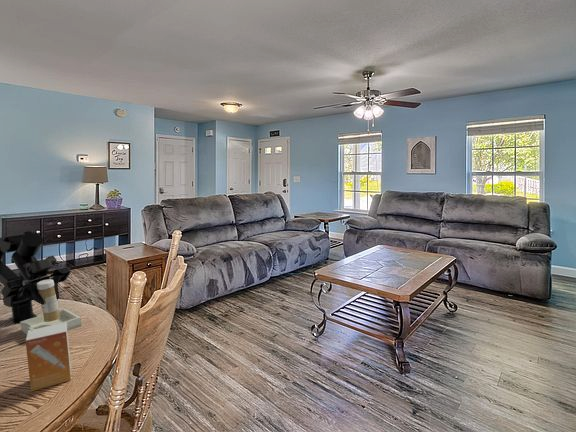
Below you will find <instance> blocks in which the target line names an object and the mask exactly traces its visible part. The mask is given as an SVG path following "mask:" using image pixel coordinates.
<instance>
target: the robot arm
mask: <svg viewBox="0 0 576 432" xmlns="http://www.w3.org/2000/svg"><path fill="white" fill-rule="evenodd" d="M43 243H44V238H43V237H42V235H39V234H37V233H33V232H32V230H28V231H27V230H26V231H23V232H22V233H19V234H10V235H4V236H3V235H2V236H1V237H0V283H1V284H2V285H3V288H2V290H1V294H2V296H3V297H2V302H3V306H5V307H9V308H10V309H11V314H12V316H11V317H9V320H10V321H11V322H12V323H14V324H15V325H16V324H19V323H20V322H21V321H24V320H28V319H31V318H34V317H38V315H36V314H35V313H34V310H33V309H34V308H33V302H32V301H34V302H36V303H38V304H40V305H41V304H42V305H43V304H44V300H43V298H42V297H41V296H40V294H39V290H38V289H37V283H38V282H40V281H43V280H48V279H52V280H53V281H54V289H55V294H56V298H57V301H58V300H59V299H60V294H59V283H62V282H65V281H66V280H68V278H69V276H70V275H71V273H72V271H71V269H70V268H69V267H68V266H63V267H58V268H56V269H54V271H53V272H52V273H50V274H48V273H49V272H50V269H51V268H54V266H56V265H57V264H58V261H57V258H56V257H55V255H49V256H47V257H45V258H44V259H39V260H38V259H37V257H36V255H38V253H39V251H40V249H41V247H42V245H43ZM5 253H7V254H9V253H12V255H11V257H10V258H11V259H10V262H11V264H14V265H15V266H16V268H17V270H18V271H19V272H18V274H17V273H16V272H15V271H14V270H13V269H11V268H10V267H9V266H8V265H7V264H5V263H4V261H3V259H4V256H5Z"/></svg>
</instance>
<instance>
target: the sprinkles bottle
mask: <svg viewBox="0 0 576 432" xmlns="http://www.w3.org/2000/svg"><path fill="white" fill-rule="evenodd" d="M37 289H38V290H39V294H40V296H41V297H42V298H43V300H44V304H43V305H42V304H40V306H41V311H42V315H44V321H45V322H51V321H55V320H57V319H59V318H60V315H59V310H60V309H59V304H58V300H57V298H56V294H55V289H54V281H53V280H52V279H48V280H43V281H40V282H38V283H37Z"/></svg>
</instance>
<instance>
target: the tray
mask: <svg viewBox="0 0 576 432" xmlns="http://www.w3.org/2000/svg"><path fill="white" fill-rule="evenodd" d="M58 310H59V315H60V318H59V319H57V320H55V321H51V322H45V321H44V315H43V314H42V315H37V317H34V318H31V319H28V320H24V321H21V322H20V330H21V332H22V333H24V334H25V335H27V333H28V330H33V329H38V328H42V327H46V326H51V325H57V324H61V323H65V322H66V323H67V332H68V331H70V330H73V329H76V328H79V327H82V316H79V315H77V314H76V313H74V312H72V311H70V310H69V309H67V308H62V309H58Z"/></svg>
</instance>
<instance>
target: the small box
mask: <svg viewBox="0 0 576 432" xmlns="http://www.w3.org/2000/svg"><path fill="white" fill-rule="evenodd" d="M68 333H69V332H68V331H67V323H66V322H65V323H61V324H57V325H51V326H46V327H42V328H38V329H33V330H28V333H27V334H26V338H25V347H26V348H25V349H26V357H27V367H28V368H27V369H28V375H29V384H30V392H34V391H38V390H42V389H46V388H48V387H52V386H54V385H58V384H62V383H67V382H71V381H72V365H71V355H70V344H69V334H68Z"/></svg>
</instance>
